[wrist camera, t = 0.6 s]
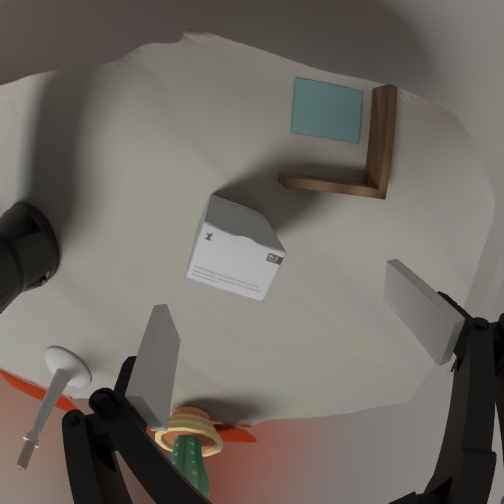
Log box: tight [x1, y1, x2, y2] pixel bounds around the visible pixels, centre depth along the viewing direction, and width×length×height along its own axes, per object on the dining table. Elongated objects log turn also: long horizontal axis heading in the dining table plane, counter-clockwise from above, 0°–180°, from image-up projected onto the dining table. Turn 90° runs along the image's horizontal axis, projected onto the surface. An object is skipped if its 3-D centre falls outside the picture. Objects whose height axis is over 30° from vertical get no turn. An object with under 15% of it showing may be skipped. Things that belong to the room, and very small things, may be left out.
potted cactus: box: [155, 406, 224, 498], centre depth 44 cm, size 15×16×25 cm
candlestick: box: [17, 346, 91, 471], centre depth 34 cm, size 13×13×30 cm
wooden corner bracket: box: [279, 84, 397, 199], centre depth 32 cm, size 14×16×5 cm
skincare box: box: [186, 194, 286, 301], centre depth 32 cm, size 8×6×15 cm
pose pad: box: [291, 78, 362, 143], centre depth 33 cm, size 10×8×1 cm
